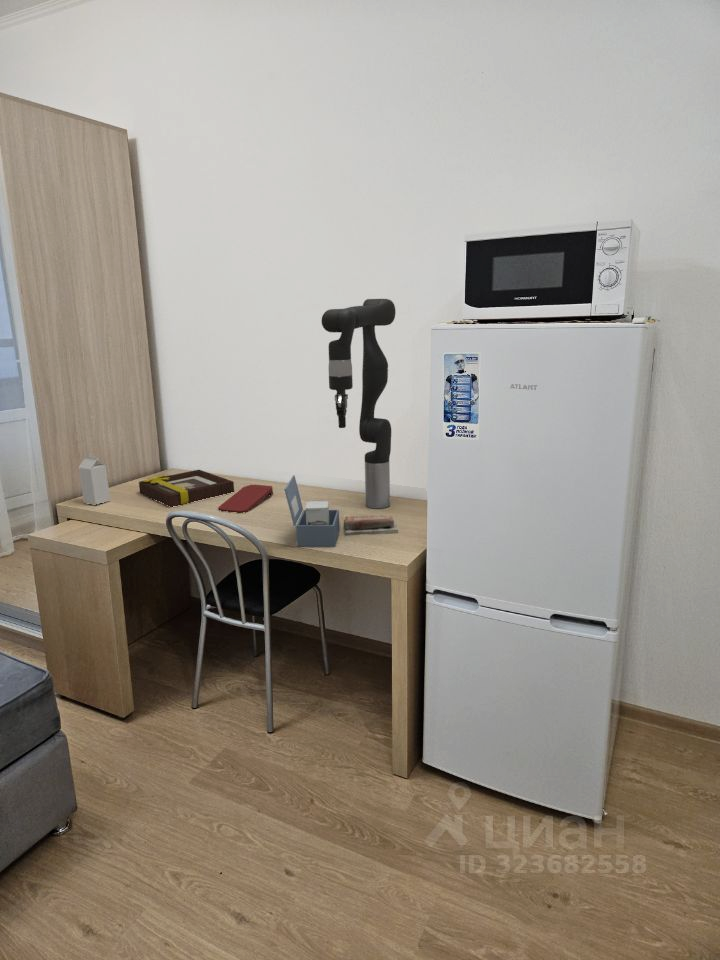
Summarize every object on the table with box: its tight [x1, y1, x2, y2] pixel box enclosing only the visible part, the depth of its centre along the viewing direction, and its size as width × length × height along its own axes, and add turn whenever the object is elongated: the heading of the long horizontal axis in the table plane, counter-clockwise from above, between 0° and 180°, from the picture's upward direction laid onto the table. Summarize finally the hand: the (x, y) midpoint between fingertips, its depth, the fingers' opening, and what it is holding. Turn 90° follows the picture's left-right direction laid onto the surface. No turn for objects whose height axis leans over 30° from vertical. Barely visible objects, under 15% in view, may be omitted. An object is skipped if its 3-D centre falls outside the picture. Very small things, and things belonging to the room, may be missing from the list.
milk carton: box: [78, 455, 111, 506], centre depth 251 cm, size 7×7×19 cm
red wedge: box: [217, 484, 274, 514], centre depth 249 cm, size 12×5×25 cm
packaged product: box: [343, 515, 399, 536], centre depth 216 cm, size 18×5×10 cm
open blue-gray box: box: [295, 509, 341, 548], centre depth 209 cm, size 16×12×7 cm
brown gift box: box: [138, 469, 235, 508], centre depth 264 cm, size 28×7×30 cm
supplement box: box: [305, 500, 330, 525], centre depth 205 cm, size 7×7×13 cm
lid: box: [283, 475, 304, 527], centre depth 207 cm, size 16×12×1 cm
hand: (342, 427), depth 208 cm, fingers closed
